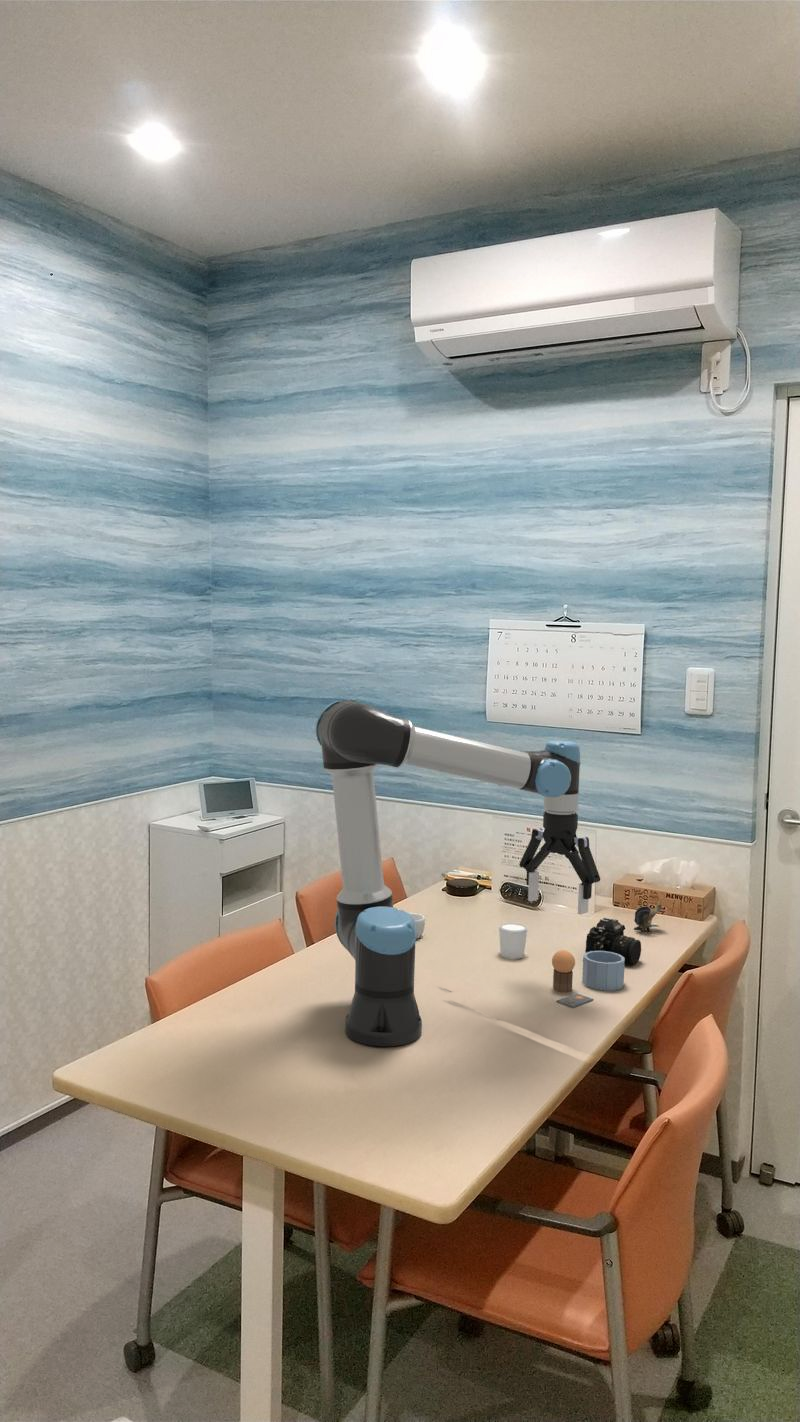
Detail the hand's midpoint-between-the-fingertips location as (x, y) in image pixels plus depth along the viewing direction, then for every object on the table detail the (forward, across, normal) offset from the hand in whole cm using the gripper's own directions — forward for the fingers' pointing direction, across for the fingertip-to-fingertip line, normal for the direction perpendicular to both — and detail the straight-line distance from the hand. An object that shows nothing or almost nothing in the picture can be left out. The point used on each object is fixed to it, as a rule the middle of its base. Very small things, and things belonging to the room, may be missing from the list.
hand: (557, 906), depth 218 cm
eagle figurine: (+18, +7, -48) cm, 52 cm away
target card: (+18, -9, +5) cm, 20 cm away
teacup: (+18, +46, +2) cm, 49 cm away
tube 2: (+18, -6, -9) cm, 21 cm away
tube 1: (+18, -3, +1) cm, 18 cm away
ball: (+12, -3, +1) cm, 12 cm away
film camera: (+18, +1, -24) cm, 30 cm away
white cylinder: (+18, +20, -9) cm, 28 cm away
